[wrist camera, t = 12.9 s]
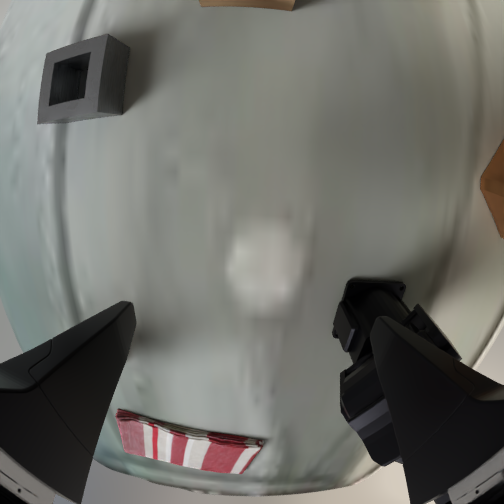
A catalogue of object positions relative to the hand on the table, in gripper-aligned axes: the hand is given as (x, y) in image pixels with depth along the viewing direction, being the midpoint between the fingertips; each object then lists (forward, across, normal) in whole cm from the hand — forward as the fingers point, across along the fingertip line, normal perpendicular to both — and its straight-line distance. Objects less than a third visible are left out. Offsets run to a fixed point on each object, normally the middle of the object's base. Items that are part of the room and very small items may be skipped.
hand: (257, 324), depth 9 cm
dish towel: (+14, +8, +40) cm, 43 cm away
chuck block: (+13, +14, -11) cm, 22 cm away
